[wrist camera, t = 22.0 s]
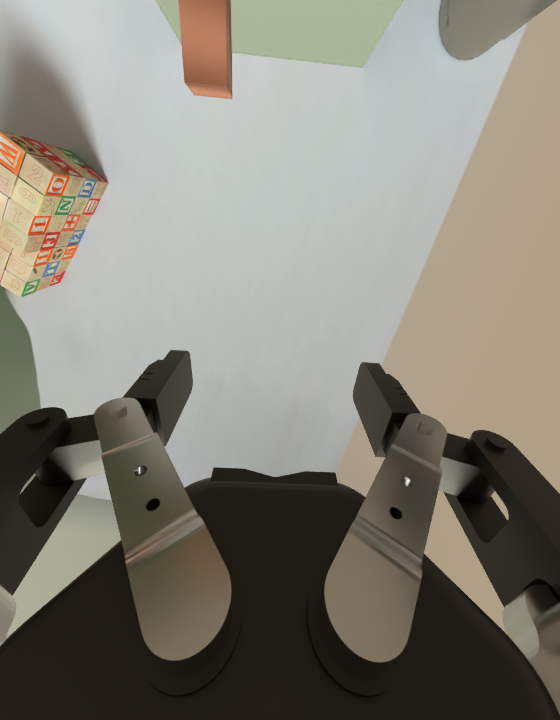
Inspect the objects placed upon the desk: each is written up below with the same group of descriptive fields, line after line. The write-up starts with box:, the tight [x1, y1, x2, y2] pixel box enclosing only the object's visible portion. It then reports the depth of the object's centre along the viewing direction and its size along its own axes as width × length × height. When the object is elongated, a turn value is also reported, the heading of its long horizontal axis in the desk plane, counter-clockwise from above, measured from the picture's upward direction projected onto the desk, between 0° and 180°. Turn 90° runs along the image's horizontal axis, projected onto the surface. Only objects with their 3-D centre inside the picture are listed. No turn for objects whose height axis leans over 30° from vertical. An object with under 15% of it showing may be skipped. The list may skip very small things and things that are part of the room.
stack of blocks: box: [0, 131, 108, 297], centre depth 40 cm, size 21×6×12 cm, turn 139°
